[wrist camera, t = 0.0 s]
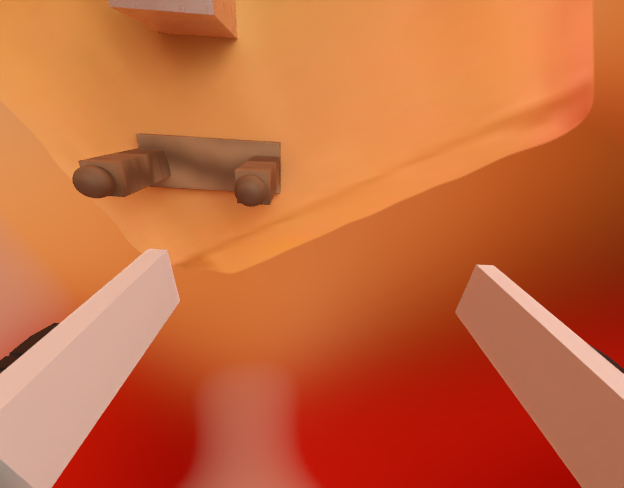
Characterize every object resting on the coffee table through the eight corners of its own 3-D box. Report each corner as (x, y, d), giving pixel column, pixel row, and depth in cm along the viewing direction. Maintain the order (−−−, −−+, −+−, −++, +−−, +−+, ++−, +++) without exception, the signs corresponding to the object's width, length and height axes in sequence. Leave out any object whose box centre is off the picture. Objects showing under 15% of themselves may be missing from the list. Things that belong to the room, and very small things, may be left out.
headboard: (140, 133, 33) (45, 145, 21) (280, 142, 34) (264, 158, 22) (153, 184, 37) (77, 219, 25) (280, 191, 37) (266, 229, 25)
